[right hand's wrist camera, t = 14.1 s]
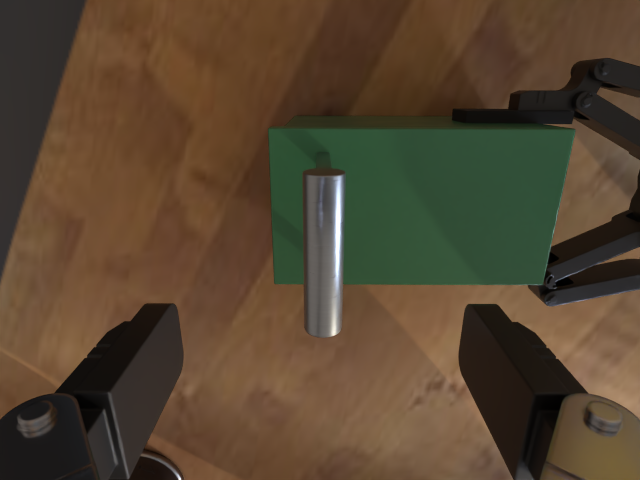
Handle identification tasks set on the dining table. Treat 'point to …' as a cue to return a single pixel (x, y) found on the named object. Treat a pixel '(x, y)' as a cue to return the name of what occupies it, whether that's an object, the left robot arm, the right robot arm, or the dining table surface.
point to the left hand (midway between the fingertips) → (450, 191)
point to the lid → (411, 208)
